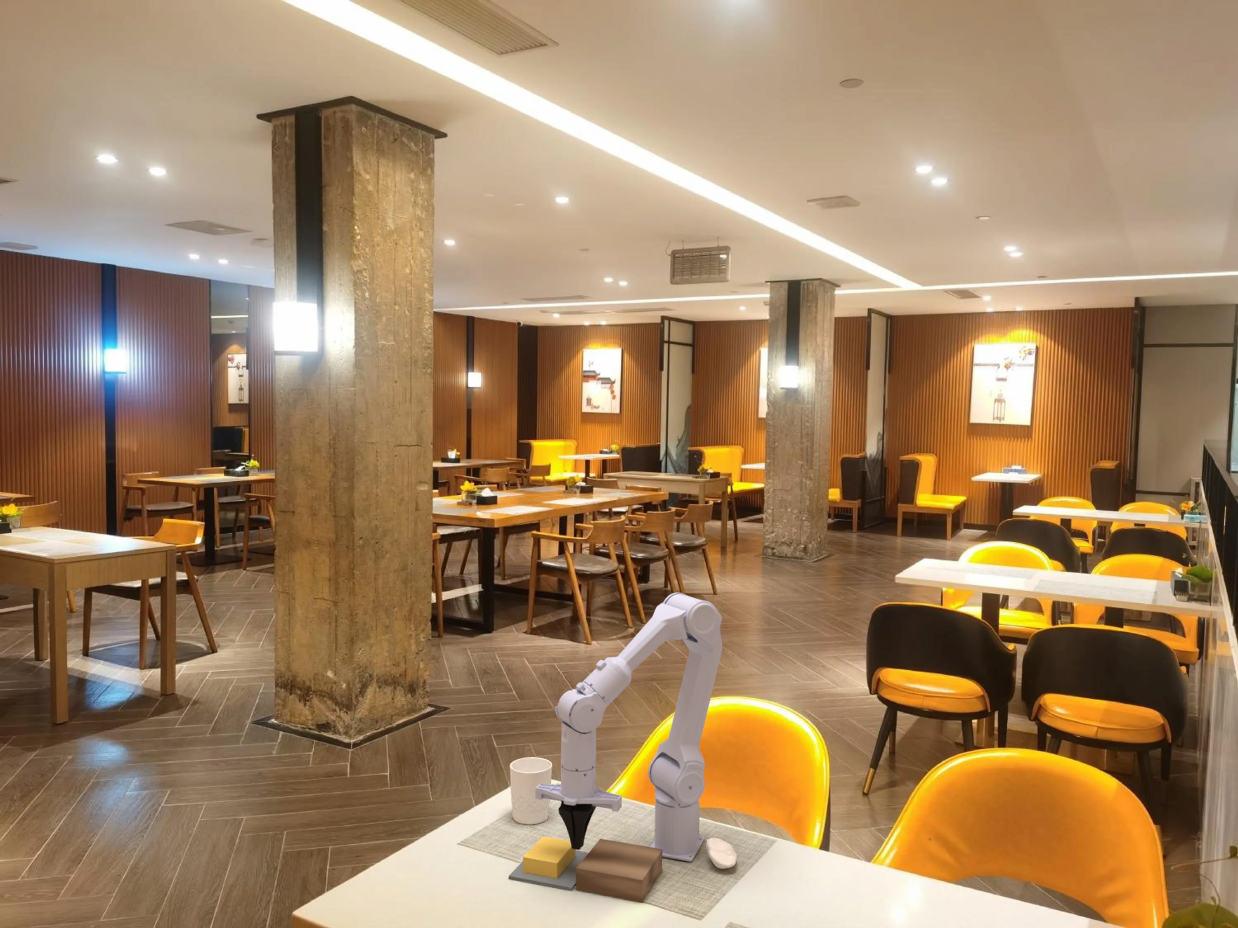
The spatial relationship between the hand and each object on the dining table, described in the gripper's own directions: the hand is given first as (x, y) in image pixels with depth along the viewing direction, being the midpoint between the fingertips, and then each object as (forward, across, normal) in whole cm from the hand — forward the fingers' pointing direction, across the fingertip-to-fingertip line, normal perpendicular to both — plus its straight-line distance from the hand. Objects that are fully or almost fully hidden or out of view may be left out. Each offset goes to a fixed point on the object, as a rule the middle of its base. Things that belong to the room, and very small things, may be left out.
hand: (577, 846), depth 147 cm
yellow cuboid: (+2, -5, 0) cm, 6 cm away
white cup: (+4, -16, +16) cm, 23 cm away
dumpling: (+4, +22, +10) cm, 25 cm away
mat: (+4, -4, 0) cm, 6 cm away
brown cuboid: (+4, +7, 0) cm, 9 cm away
